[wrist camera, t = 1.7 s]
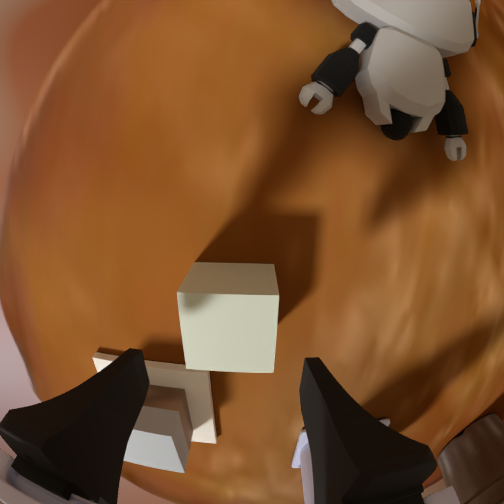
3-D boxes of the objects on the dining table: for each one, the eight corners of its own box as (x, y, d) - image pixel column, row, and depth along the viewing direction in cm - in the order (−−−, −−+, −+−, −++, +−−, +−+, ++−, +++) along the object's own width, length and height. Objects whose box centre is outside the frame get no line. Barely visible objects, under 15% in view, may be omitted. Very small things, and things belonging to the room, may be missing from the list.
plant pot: (439, 433, 25) (479, 521, 9) (517, 385, 23) (564, 448, 8) (417, 477, 30) (440, 544, 14) (487, 440, 28) (517, 495, 13)
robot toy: (444, 165, 16) (454, 5, 11) (482, 174, 12) (484, -9, 7) (282, 115, 16) (311, -52, 10) (290, 107, 12) (321, -85, 6)
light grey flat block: (178, 411, 18) (171, 436, 15) (189, 451, 20) (184, 472, 17) (107, 398, 18) (95, 419, 16) (126, 439, 20) (119, 459, 17)
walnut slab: (184, 389, 20) (178, 411, 18) (193, 430, 22) (189, 451, 20) (117, 378, 20) (107, 398, 18) (134, 421, 22) (126, 439, 20)
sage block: (273, 263, 18) (279, 295, 14) (270, 330, 19) (273, 372, 15) (194, 261, 18) (176, 292, 14) (199, 327, 19) (186, 368, 15)
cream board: (209, 366, 20) (207, 373, 20) (216, 437, 23) (216, 443, 23) (96, 351, 20) (92, 357, 20) (124, 423, 24) (122, 428, 23)
